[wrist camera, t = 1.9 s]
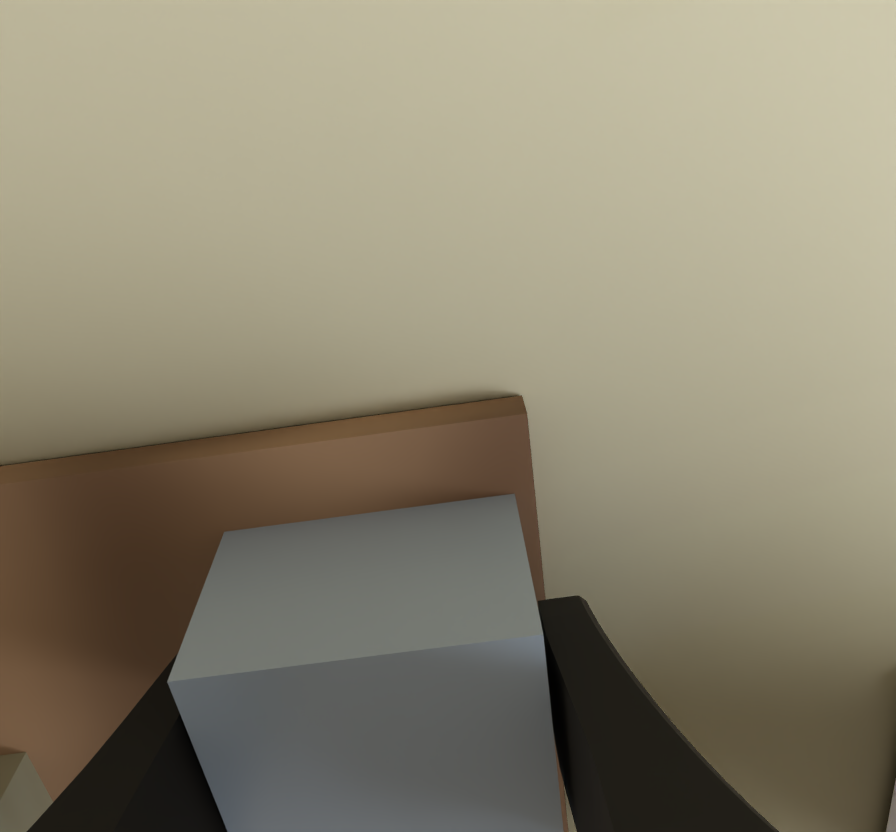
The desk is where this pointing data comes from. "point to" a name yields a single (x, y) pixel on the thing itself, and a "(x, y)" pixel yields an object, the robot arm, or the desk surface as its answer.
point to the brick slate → (373, 675)
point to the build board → (193, 556)
